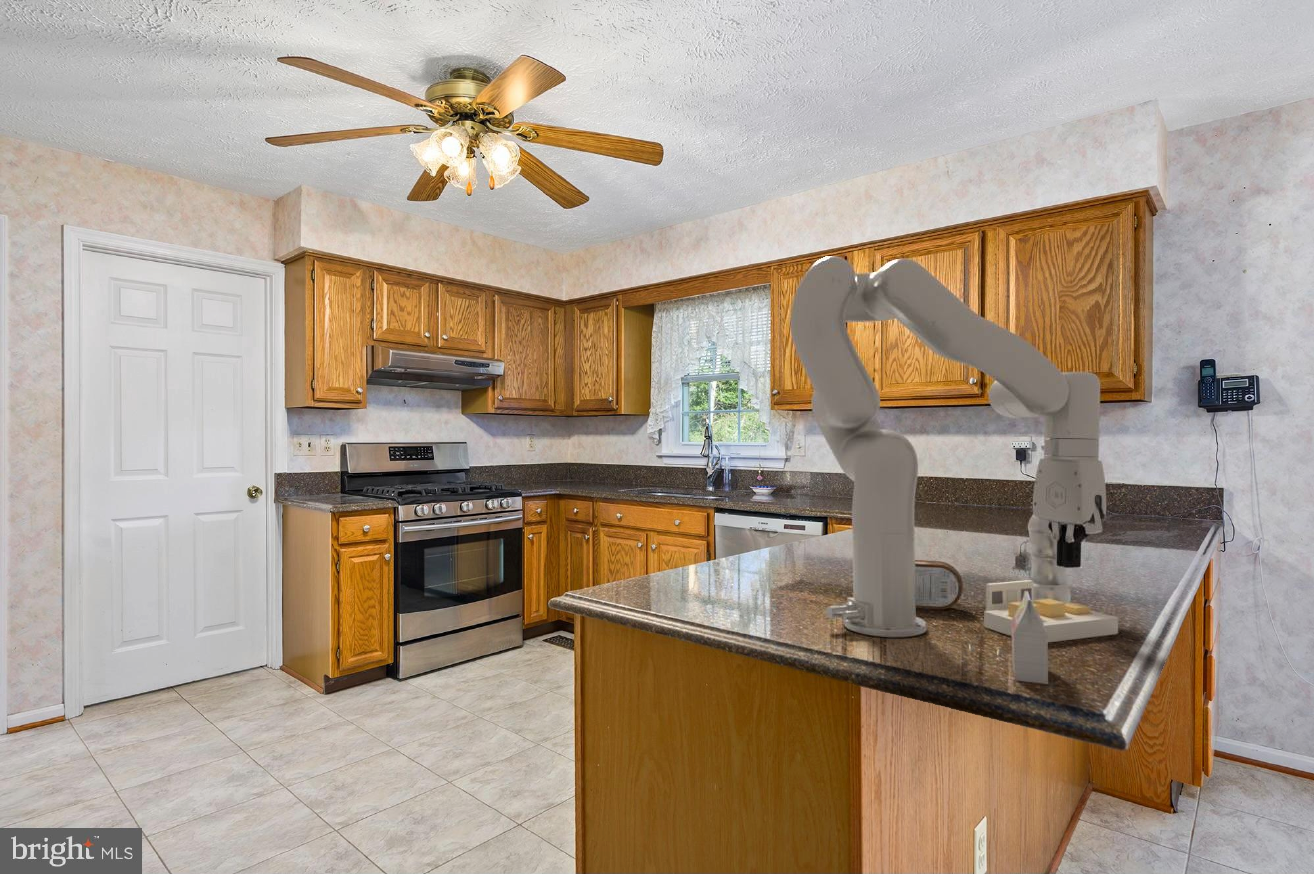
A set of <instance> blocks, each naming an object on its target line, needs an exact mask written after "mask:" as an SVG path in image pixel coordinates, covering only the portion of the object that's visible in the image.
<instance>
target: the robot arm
mask: <svg viewBox="0 0 1314 874" xmlns="http://www.w3.org/2000/svg"><path fill="white" fill-rule="evenodd" d="M894 319H896V320H897V322H899V323H900V324H902V325H903V326H904V327H905V328H906V329H907V330H908V331H909V332H910V333H912V334H913V335H914V336H915V337H916V338H917V339H919V341H921V342H922V343H923V344H924V345H925V346H926V347H927V348H928V349H930V351H932V353H934V354H935V355H937V356H939V357H941V358H944V359H946V360H948V361H952V362H955V363H956V362H957V363H960V364H963V365H966V366H970V367H972V368H974V369H976V370H978V371H980V372H983V373H984V374H985V375H987V376H989V377H990V378H992V380H994V382H993V383H992V384H991V386H990V388H989V390H988V401H989V404H990V406H991V407H992V409H993V411H995V412H997V414H999V415H1001V416H1002V417H1006V418H1010V419H1026V418H1035V417H1036V418H1037V417H1044V428H1043V429H1044V432H1043V433H1044V435H1043V436H1044V437H1043V438H1044V439H1043V443H1041V446H1040V449H1041V450H1042V451H1043V458H1039V461H1038V464H1037V469H1036V472H1035V479H1034V485H1033V486H1034V487H1033V494H1032V495H1033V498H1032V515H1033V514H1034V516H1035V517H1037V518H1038V519H1039V523H1040V524H1041V525H1043V526H1045V527H1047V528H1049V529H1050V530H1051V532H1052V533H1053V538H1054V540H1056V541H1057V566H1061V567H1065V568H1066V569H1069V568H1070V569H1071V568H1072V569H1073V568H1080V567H1081V565H1082V563H1081V562H1082V543H1085V542H1086V539H1087V537H1088V536H1089V535H1090V534H1099V533H1102V532H1103V525H1102V523H1103V522H1105V520H1106V514H1107V490H1106V479H1105V472H1104V467H1103V463H1102V460H1100V458H1099V456H1100V440H1099V439H1100V413H1101V412H1100V410H1101V409H1100V408H1101V407H1100V406H1101V381H1100V378H1099V376H1098V375H1096V374H1095V373H1092V372H1088V371H1087V372H1086V371H1085V372H1084V371H1067V372H1062V371H1061V370H1060V369H1059V368H1058V367H1057V365H1055V364H1054V363H1053V362H1052V361H1051V360H1050V359H1049V358H1048V357H1047V356H1045V355H1044V354H1043V353H1042V351H1040V350H1038V348H1036V347H1035V346H1033V345H1032V344H1031V343H1030V342H1028V341H1027V340H1025V339H1024V338H1022V337H1021V336H1019V335H1017V334H1015V333H1014V332H1012V331H1010V330H1008V329H1006V328H1004V327H1003V326H1000V325H998V324H997V323H995V322H993V321H991V320H989V319H987V318H985V317H982V315H981V316H980V315H979V314H977V312H975V311H974V310H972V309H971V308H970V307H969V306H968V305H967V304H966V303H964V302H963V301H962V300H961V299H960V298H959V297H957V296H956V295H955V294H954V293H953V292H952V291H951V290H949V288H948V287H946V286H945V285H944V284H943V283H942V282H941V281H940V280H939V279H937V277H935V276H934V275H933V274H932V273H931V272H930V271H928V270H927V269H926V268H925V267H923V265H921V264H920V263H918V262H917V261H915V260H913V259H910V258H897V259H894V260H891V261H889V262H887V263H886V264H885V265H882V267H880V268H879V269H878V270H877V271H875V272H864V273H861V272H860V273H856V271H855V269H854V267H853V266H852V264H851V263H850V262H849V261H848V260H847V259H844V258H843V257H841V256H836V255H831V256H825V257H823V258H821V259H819V260H817V261H815V262H814V263H813V264H812V265H811V266H810V267H809V269H807V271H806V273H805V274H804V276H803V277H802V279H801V280H800V282H799V283H798V286H797V288H796V290H795V294H794V298H793V302H792V305H791V313H790V333H791V334H790V335H791V338H792V343H793V345H794V346H793V347H794V349H795V351H796V355H797V357H798V359H799V361H800V362H801V364H802V367H803V369H804V372H805V373H806V376H807V378H808V380H809V381H810V383H811V386H812V388H813V393H812V395H811V410H812V415H813V417H814V420H815V422H816V423H817V426H818V427H819V429H820V432H821V433H822V435H823V437H824V439H825V441H826V443H827V445H828V446H829V449H830V450H831V453H832V454H833V456H834V458H835V459H836V462H837V463H838V465H839V466H840V468H841V470H842V471H843V473H844V474H845V476H846V477H847V478H849V479H850V480H851V481H852V482H854V483H853V490H852V491H853V492H852V503H851V504H852V506H851V529H852V587H853V588H852V589H853V591H852V593H853V594H852V595H853V596H852V597H847V598H846V600H847V601H846V602H845V603H843V604H842V605H829V606H827V607H826V609H825V611H826V612H825V613H826V616H827V618H828V619H829V620H830V619H831V620H832V619H833V620H834V619H840V618H842V620H843V626H845V628H846V629H848V630H850V631H852V632H855V633H859V634H862V635H866V636H867V635H868V636H873V637H880V638H881V637H882V638H908V637H915V636H919V635H922V634H924V633H925V632H927V622H926V621H925V620H924V619H922V618H921V617H918V616H917V608H916V585H915V560H916V535H915V534H916V533H915V532H916V530H915V503H916V501H915V500H916V489H917V481H918V475H919V474H918V473H919V462H918V456H917V452H916V450H915V448H914V446H913V444H912V443H911V442H910V441H909V439H908V438H907V437H906V436H904V435H903V434H901V433H899V432H897V431H896V430H895V431H894V430H890V429H884V428H883V427H882V425H881V423H880V422H879V420H878V417H877V415H878V412H880V411H879V410H880V406H881V397H880V393H879V391H878V388H877V386H876V384H875V383H874V381H873V379H872V378H871V376H870V374H869V373H868V371H867V369H866V368H865V367H866V366H865V365H864V364H863V361H862V359H861V358H860V356H859V354H858V352H857V350H856V348H855V346H854V343H853V341H852V339H851V337H850V333H849V332H848V329H847V323H866V322H867V323H868V322H869V323H870V322H882V321H883V322H885V321H891V320H894ZM1062 524H1063V525H1062Z"/></svg>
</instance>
